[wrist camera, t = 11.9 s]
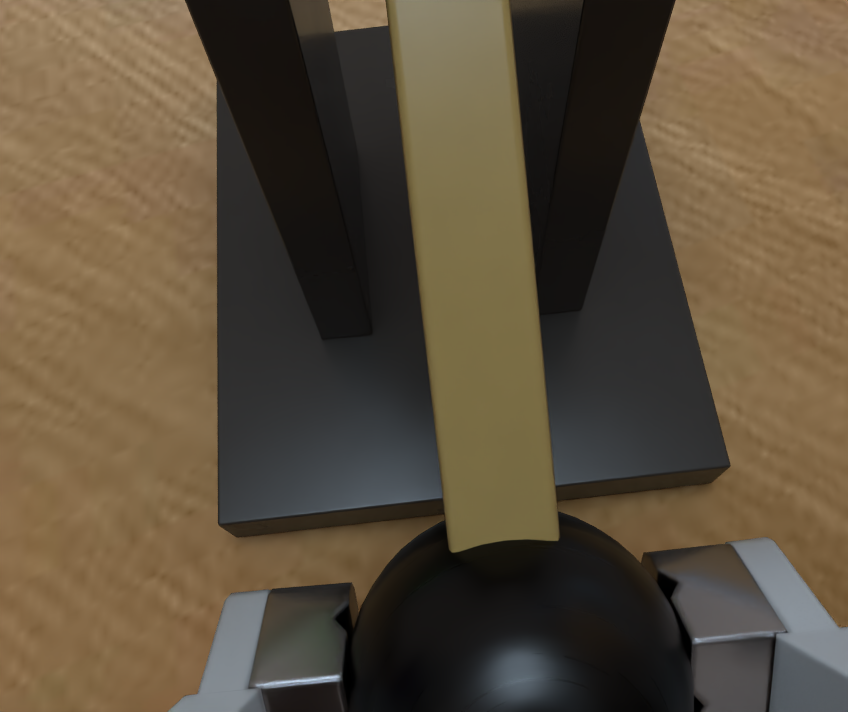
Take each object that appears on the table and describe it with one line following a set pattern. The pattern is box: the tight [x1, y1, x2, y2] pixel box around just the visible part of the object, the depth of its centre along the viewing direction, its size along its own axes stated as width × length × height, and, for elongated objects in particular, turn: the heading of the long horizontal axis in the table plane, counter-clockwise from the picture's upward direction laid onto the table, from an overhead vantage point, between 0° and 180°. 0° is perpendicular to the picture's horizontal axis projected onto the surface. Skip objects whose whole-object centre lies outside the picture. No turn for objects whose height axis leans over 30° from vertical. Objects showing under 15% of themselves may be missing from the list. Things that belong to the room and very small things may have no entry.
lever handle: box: [347, 0, 694, 712], centre depth 8 cm, size 13×4×4 cm
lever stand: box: [185, 0, 730, 537], centre depth 11 cm, size 11×9×13 cm
